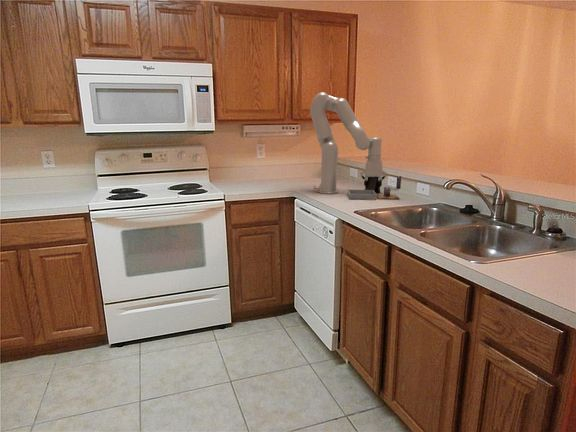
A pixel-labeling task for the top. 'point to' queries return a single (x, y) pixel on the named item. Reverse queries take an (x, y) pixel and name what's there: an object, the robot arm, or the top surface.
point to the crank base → (388, 197)
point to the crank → (398, 186)
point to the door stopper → (373, 184)
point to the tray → (362, 195)
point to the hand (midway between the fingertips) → (372, 186)
